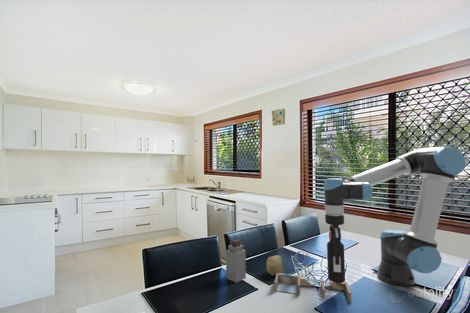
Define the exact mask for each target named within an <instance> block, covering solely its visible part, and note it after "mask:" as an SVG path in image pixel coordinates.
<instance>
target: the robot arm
mask: <svg viewBox="0 0 470 313" xmlns="http://www.w3.org/2000/svg"><path fill="white" fill-rule="evenodd" d="M466 164H467V162H466V157H465V155H463V153H462V151H461V150H459V149H458V148H456V147H453V146H443V145H442V146H436V147H434V146H433V147H423V148H422V147H421V148H418V149H416V150H413V151H409V152H407V153H404V154H402V155H400V156H397V157H396V158H395V159H394V160H392V161H390V162H387V163H385V164H382V165H379V166H376V167H374V168H372V169H369V170H366V171H363V172H361V173H357V174H355V175H352V176H349V177H347V178H344V179H342V178H341V177H339V178H336V177H331V178H329V177H327V178H326V179H324V184H323V191H324V206H323V209H324V213H325V215H324V217H325V218H324V222H325V223H326V224H327V225H329V232H331V238H332V239H333V251H334V254H333V255H332V256H333V265H334V272H341V260H340V257H341V243H342V242H341V243H340V235H341V236H342V232H341V228H340V226H342V225H344V224H345V216H344V214H345V205H344V203H345V202H344V201H366V200H370V199H372V197H373V186H375V185H379V184H381V183H384V182H387V181H389V180H393V179H395V178H398V177H401V176H410V175H412V174H418V173H419V175H420V176H421V178H422V182H421V185H420V189H419V193H418V197H417V201H416V205H415V210H414V212H413V217H412V221H411V224H410V228H409V231H404V230H397V229H395V230H394V229H384V230H382V231H381V232H380V254H381V256H380V257H381V258H380V263H379V265H378V268H377V277H378V278H379V279H380V280H381V281H383V282H386V283H387V284H390V285H394V286H399V287H413V286H414V285H416V284H415V283H416V279H415V275H414V273H413V271H416V272H417V273H421V274H431V273H433V272H435V271H437V270H438V269H439V267H440V266H441V264H442V256H441V253H440V251H439V250H438V249H437V248H438V242H437V241H436V239H435V238H436V237H435V236H436V232H437V228H438V224H439V219H440V217H441V214H442V213H441V212H442V208H443V205H444V201H445V198H446V193H447V189H448V185H449V184H450V183H452V182H454V181H455V177H456V175H459V174H461V173H462V172H464V170H465V168H466ZM333 236H334V237H333Z"/></svg>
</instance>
